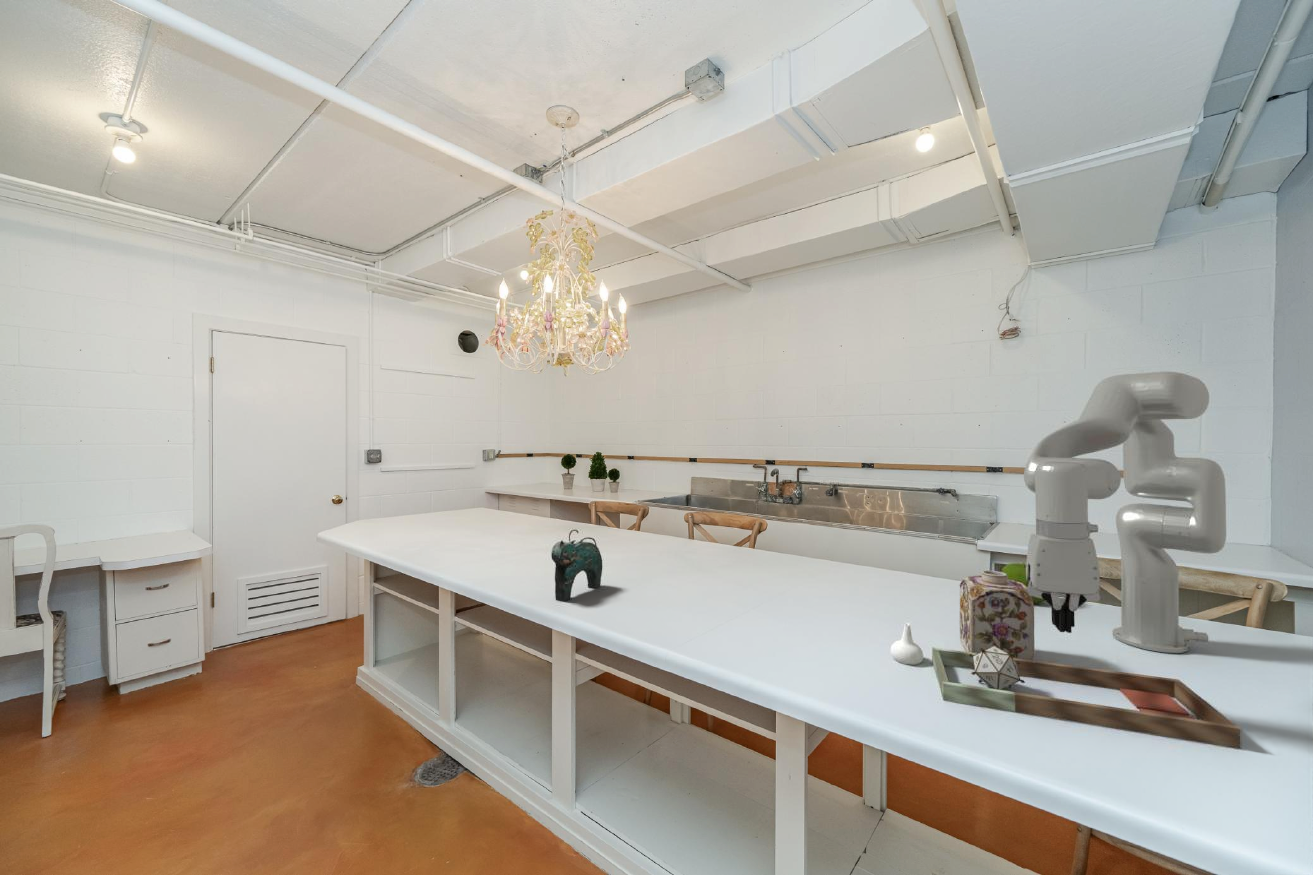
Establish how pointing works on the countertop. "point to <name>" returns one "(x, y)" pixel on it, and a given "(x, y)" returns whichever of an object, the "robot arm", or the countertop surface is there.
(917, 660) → the garlic bulb
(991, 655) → the game die
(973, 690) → the rectangular wooden frame
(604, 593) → the countertop surface
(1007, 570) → the apple
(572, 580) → the teal animal figurine
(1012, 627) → the decorative jar
